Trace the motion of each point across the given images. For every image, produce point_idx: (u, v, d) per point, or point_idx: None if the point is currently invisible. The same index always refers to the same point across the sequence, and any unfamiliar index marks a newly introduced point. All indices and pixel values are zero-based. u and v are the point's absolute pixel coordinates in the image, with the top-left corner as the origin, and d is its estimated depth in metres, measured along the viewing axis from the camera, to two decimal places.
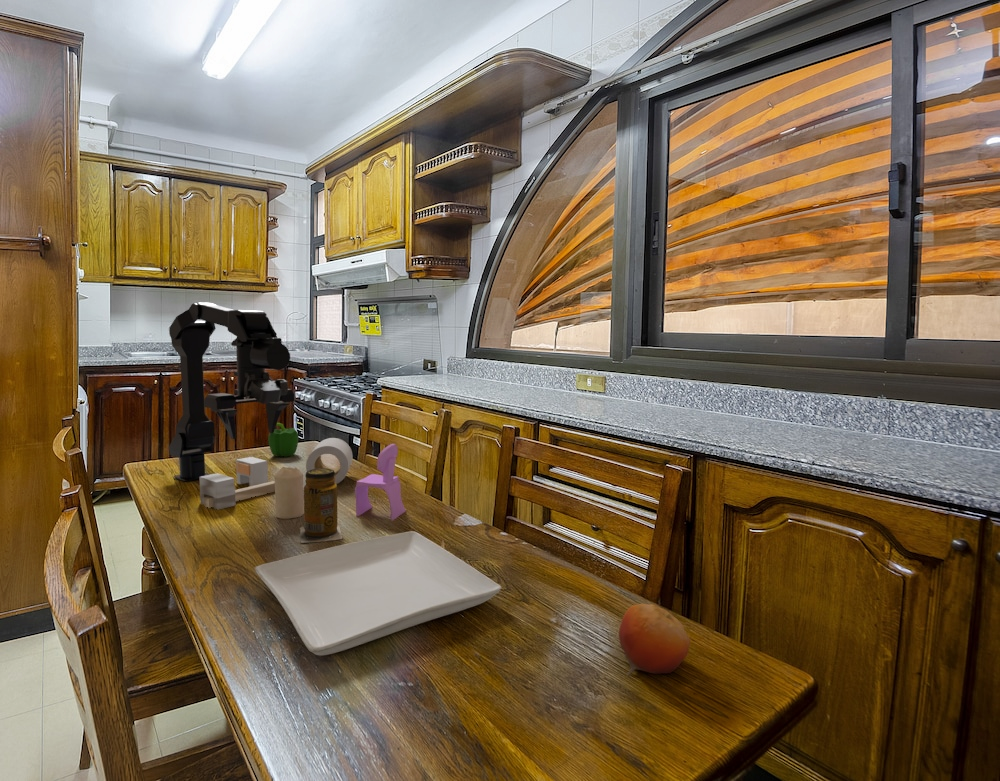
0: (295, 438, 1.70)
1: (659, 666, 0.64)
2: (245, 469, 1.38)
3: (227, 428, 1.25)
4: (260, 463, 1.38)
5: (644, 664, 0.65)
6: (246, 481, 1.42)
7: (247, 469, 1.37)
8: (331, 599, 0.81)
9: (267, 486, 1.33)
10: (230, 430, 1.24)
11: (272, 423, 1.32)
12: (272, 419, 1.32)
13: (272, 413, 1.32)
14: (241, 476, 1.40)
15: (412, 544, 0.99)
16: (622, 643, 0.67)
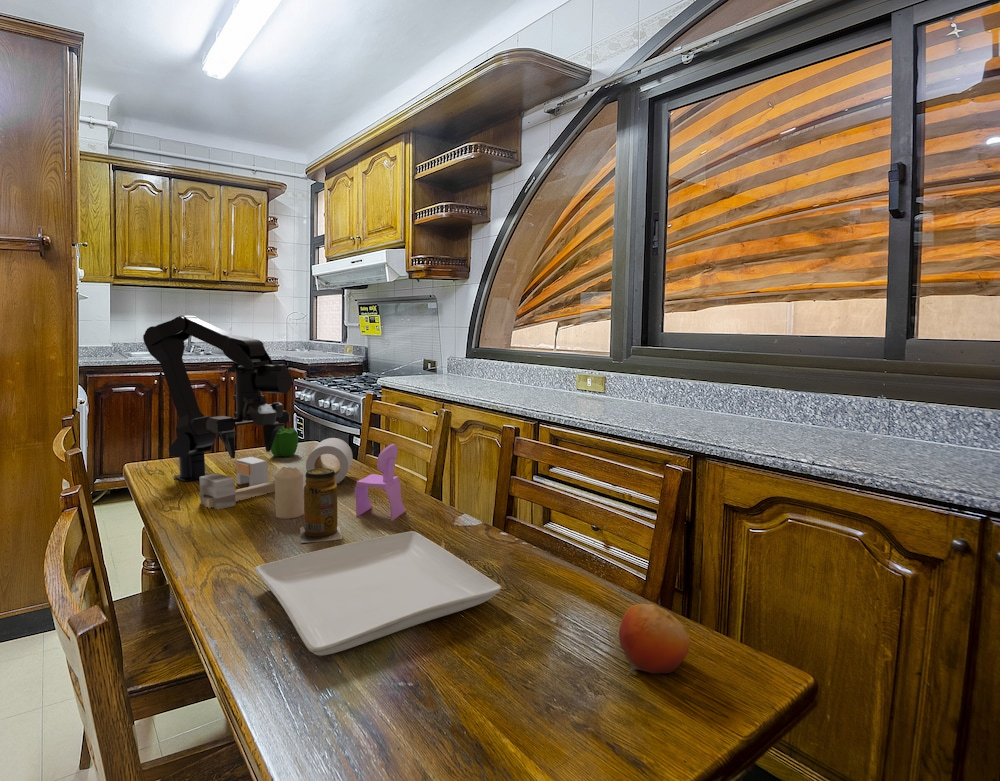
0: (295, 438, 1.70)
1: (659, 666, 0.64)
2: (245, 469, 1.38)
3: (227, 448, 1.36)
4: (260, 463, 1.38)
5: (644, 664, 0.65)
6: (246, 481, 1.42)
7: (247, 469, 1.37)
8: (331, 599, 0.81)
9: (267, 486, 1.33)
10: (230, 450, 1.35)
11: (269, 442, 1.43)
12: (269, 439, 1.43)
13: (269, 433, 1.43)
14: (241, 476, 1.40)
15: (412, 544, 0.99)
16: (622, 643, 0.67)
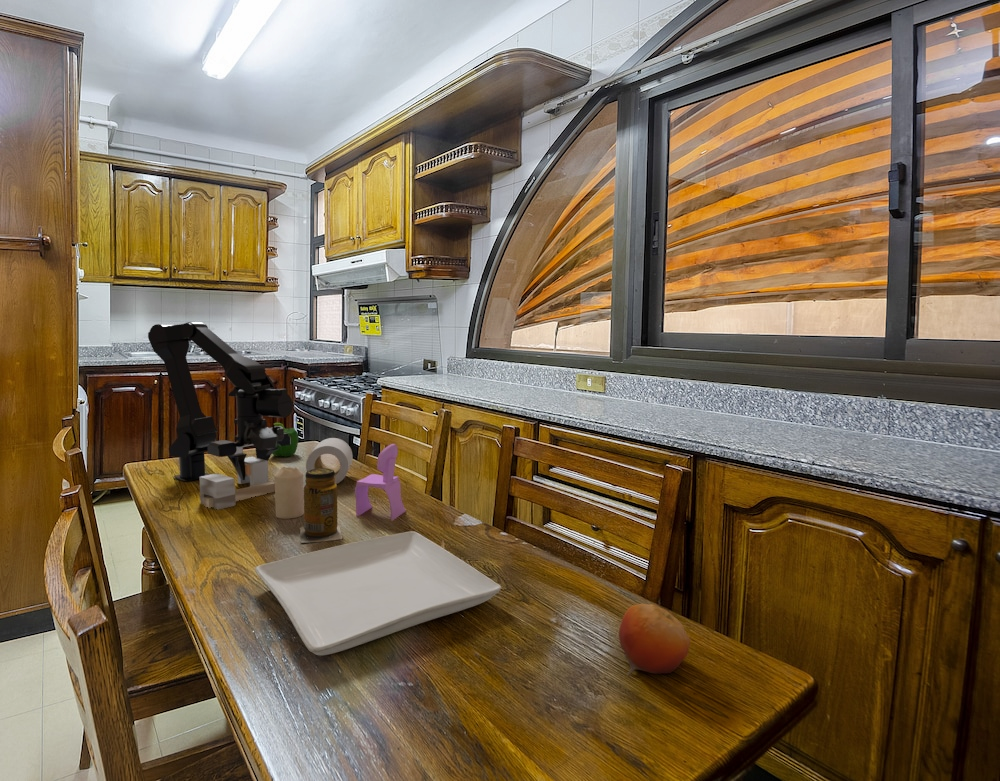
0: (295, 438, 1.70)
1: (659, 666, 0.64)
2: (246, 469, 1.38)
3: (237, 470, 1.38)
4: (261, 463, 1.38)
5: (644, 664, 0.65)
6: (246, 481, 1.42)
7: (248, 469, 1.37)
8: (331, 599, 0.81)
9: (267, 486, 1.33)
10: (240, 472, 1.38)
11: None
12: None
13: (261, 457, 1.42)
14: None
15: (412, 544, 0.99)
16: (622, 643, 0.67)
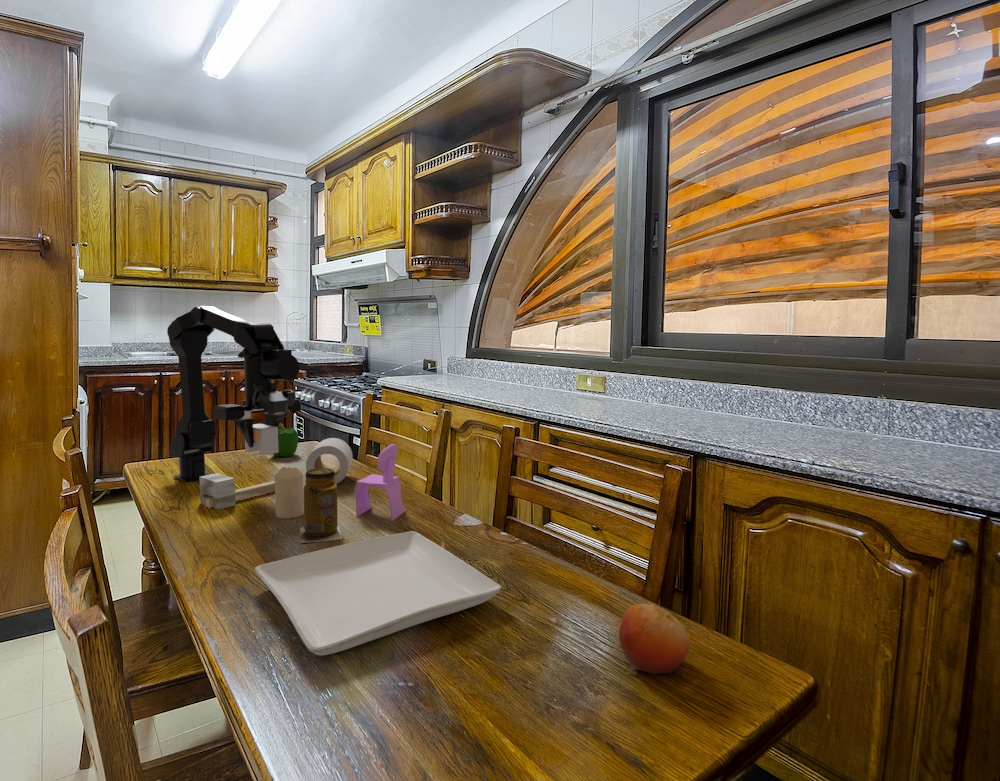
0: (295, 438, 1.70)
1: (659, 666, 0.64)
2: (254, 435, 1.29)
3: (245, 437, 1.29)
4: (270, 429, 1.30)
5: (644, 664, 0.65)
6: (255, 449, 1.33)
7: (256, 435, 1.29)
8: (331, 599, 0.81)
9: (267, 486, 1.33)
10: (248, 439, 1.29)
11: None
12: None
13: (271, 424, 1.33)
14: None
15: (412, 544, 0.99)
16: (622, 643, 0.67)
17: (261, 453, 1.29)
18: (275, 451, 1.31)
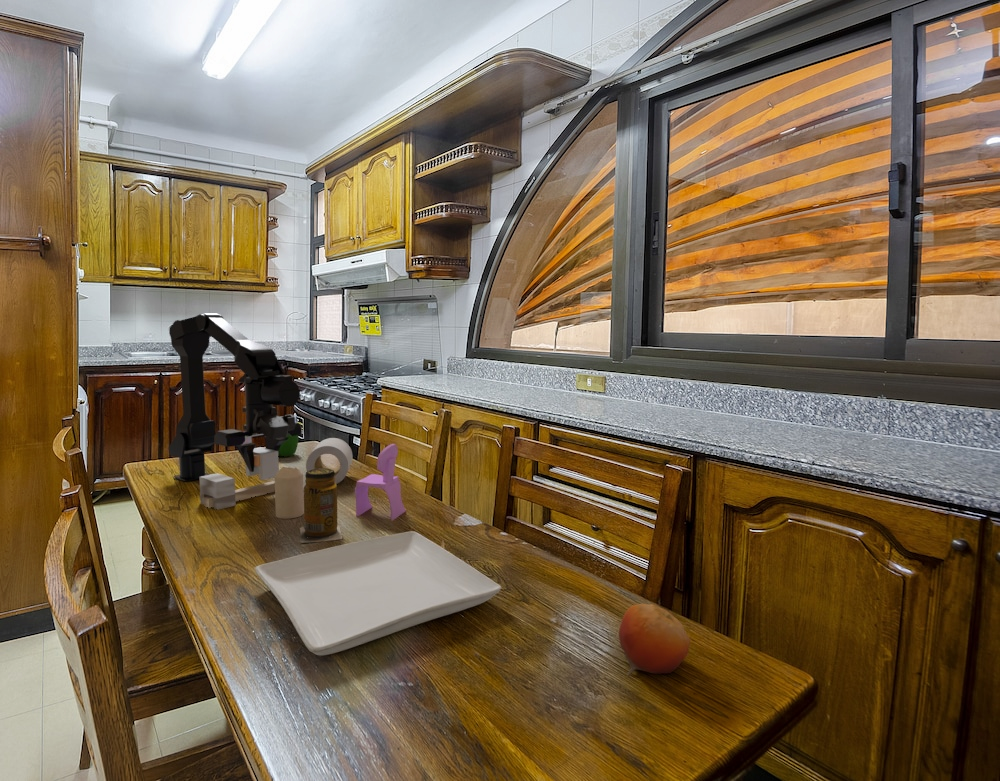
0: (295, 438, 1.70)
1: (659, 666, 0.64)
2: (255, 460, 1.30)
3: (246, 461, 1.30)
4: (271, 453, 1.30)
5: (644, 664, 0.65)
6: (255, 473, 1.34)
7: (257, 460, 1.29)
8: (331, 599, 0.81)
9: (267, 486, 1.33)
10: (249, 463, 1.30)
11: None
12: None
13: (271, 448, 1.34)
14: None
15: (412, 544, 0.99)
16: (622, 643, 0.67)
17: (261, 478, 1.29)
18: None
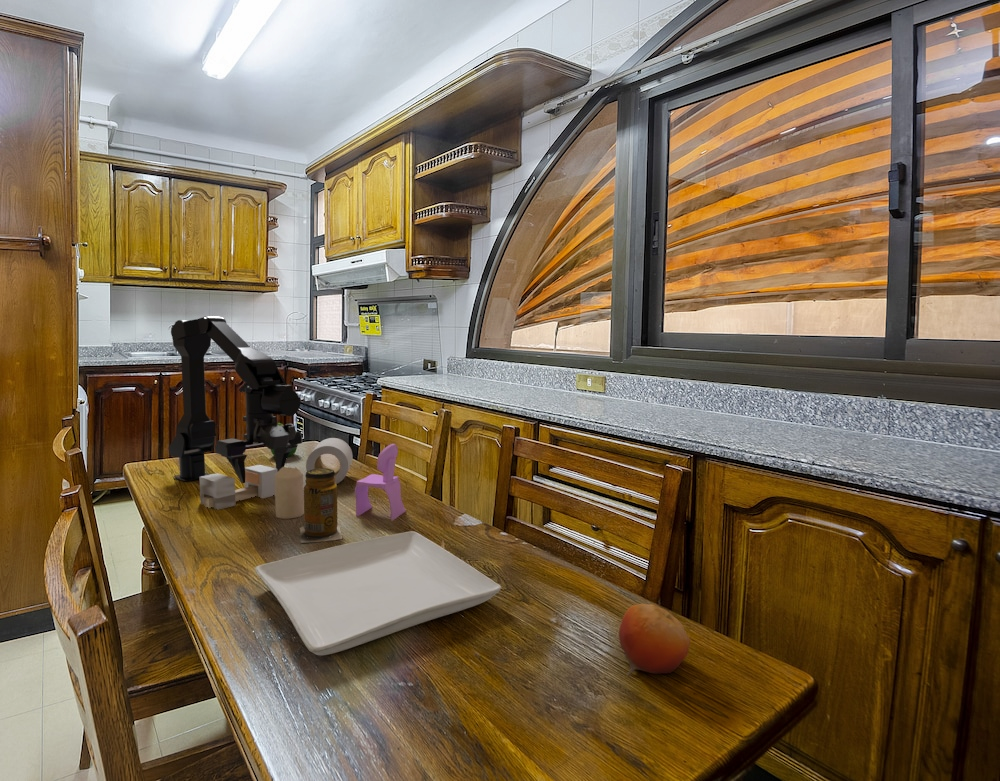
0: None
1: (659, 666, 0.64)
2: (254, 478, 1.30)
3: (237, 472, 1.28)
4: (270, 471, 1.31)
5: (644, 664, 0.65)
6: None
7: (256, 478, 1.29)
8: (331, 599, 0.81)
9: None
10: (240, 474, 1.28)
11: (280, 465, 1.36)
12: (280, 461, 1.36)
13: (280, 455, 1.36)
14: (249, 485, 1.33)
15: (412, 544, 0.99)
16: (622, 643, 0.67)
17: (261, 496, 1.30)
18: None
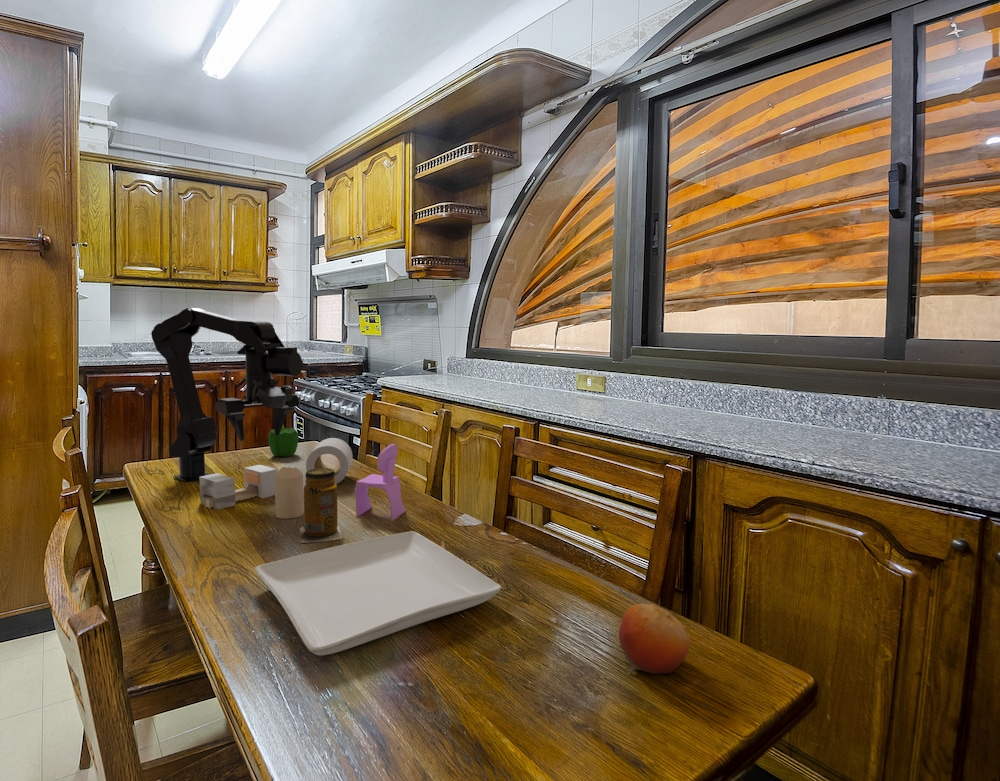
0: (295, 438, 1.70)
1: (659, 666, 0.64)
2: (254, 478, 1.30)
3: (236, 430, 1.35)
4: (270, 471, 1.31)
5: (644, 664, 0.65)
6: None
7: (256, 478, 1.29)
8: (331, 599, 0.81)
9: None
10: (239, 432, 1.34)
11: (278, 426, 1.42)
12: (278, 422, 1.42)
13: (278, 417, 1.42)
14: (249, 485, 1.33)
15: (412, 544, 0.99)
16: (622, 643, 0.67)
17: (261, 496, 1.30)
18: None
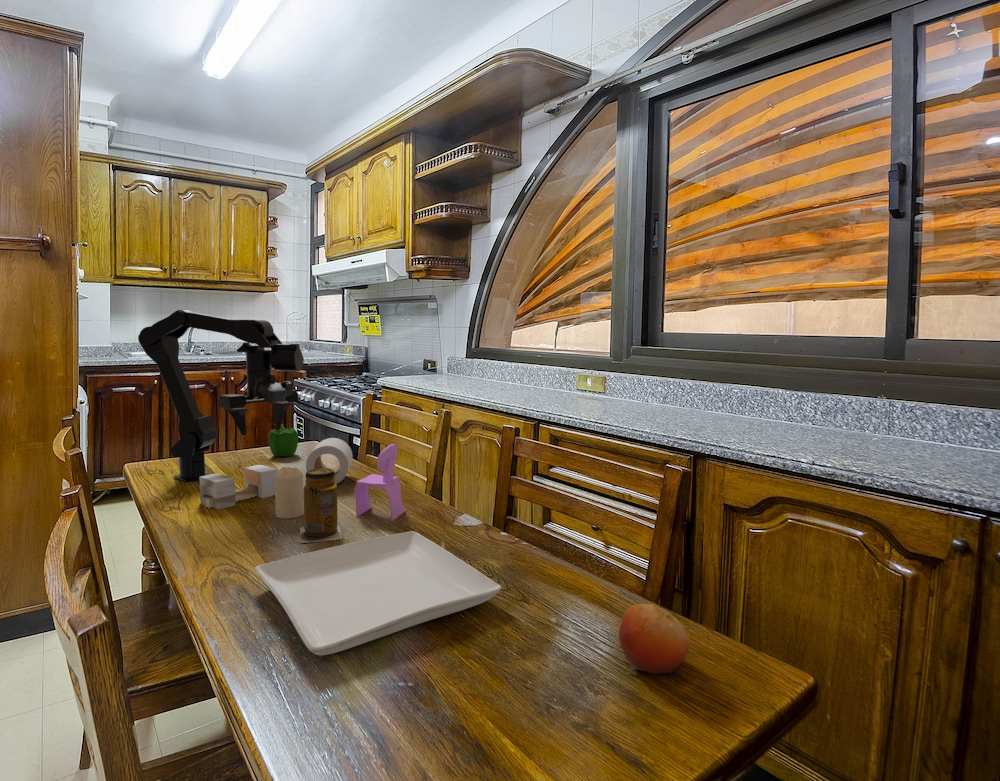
0: (295, 438, 1.70)
1: (659, 666, 0.64)
2: (254, 478, 1.30)
3: (238, 425, 1.39)
4: (270, 471, 1.31)
5: (644, 664, 0.65)
6: None
7: (256, 478, 1.29)
8: (331, 599, 0.81)
9: None
10: (241, 427, 1.39)
11: (278, 421, 1.47)
12: (278, 417, 1.47)
13: (278, 412, 1.47)
14: (249, 485, 1.33)
15: (412, 544, 0.99)
16: (622, 643, 0.67)
17: (261, 496, 1.30)
18: None
